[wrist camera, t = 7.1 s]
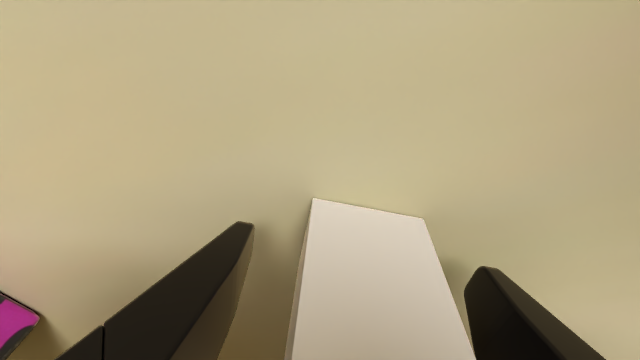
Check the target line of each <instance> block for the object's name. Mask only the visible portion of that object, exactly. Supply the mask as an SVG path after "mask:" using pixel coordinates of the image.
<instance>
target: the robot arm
mask: <svg viewBox="0 0 640 360" xmlns="http://www.w3.org/2000/svg"><path fill="white" fill-rule="evenodd" d="M254 229H255V228H254V225H253V224H252V223H246V222H241V221H238V222H236V223H234V224H233V225H232V226H230V227H229V228H228V229H226V230H225V231H224V232H223V233H221V234H220V235H219V236H217V237H216V238H215V239H213V240H212V241H211V242H209V243H208V244H207V245H205V246H204V247H203V248H201V249H200V250H199V251H198V252H196V253H195V254H194V255H192V256H191V257H190V258H188V259H187V260H186V261H184V262H183V263H182V264H180V265H179V266H178V267H176V268H175V269H174V270H172V271H171V272H170V273H169V274H167V275H166V276H165V277H163V278H162V279H161V280H159V281H158V282H157V283H155V284H154V285H153V286H151V287H150V288H149V289H147V290H146V291H145V292H144V293H142V294H141V295H140V296H138V297H137V298H136V299H134V300H133V301H132V302H130V303H129V304H128V305H126V306H125V307H124V308H122V309H121V310H120V311H118V312H117V313H116V314H115V315H113V316H112V317H111V318H109V319H108V320H107V321H105V323H104V326H102V325H100V326H98V327H97V328H96V329H95V330H93V331H92V332H91V333H89V334H88V335H87V336H85V337H84V338H83V339H81V340H80V341H79V342H77V343H76V344H75V345H73V346H72V347H70V348H69V349H68V350H66V351H65V352H64V353H62V354H61V355H59V356H58V357H57V358H55V359H54V360H217V358H218V355H219V353H220V351H221V348H222V346H223V343H224V341H225V338H226V336H227V333H228V331H229V328H230V326H231V323H232V321H233V318H234V315H235V312H236V309H237V305H238V302H239V298H240V294H241V291H242V287H243V284H244V280H245V276H246V273H247V269H248V266H249V262H250V258H251V254H252V248H253V239H254ZM464 298H465V304H466V309H467V315H468V321H469V326H470V332H471V337H472V343H473V348H474V353H475V357H476V360H606V359H605V358H603V357H602V356H601V355H600V354H599V353H597V352H596V351H595V350H594V349H593V348H592V347H590V346H589V345H588V344H587V343H586V342H584V341H583V340H582V339H581V338H580V337H578V336H577V335H576V334H575V333H574V332H573V331H571V330H570V329H569V328H568V327H567V326H565V325H564V324H563V323H562V322H561V321H559V320H558V319H557V318H556V317H555V316H554V315H552V314H551V313H550V312H549V311H548V310H546V309H545V308H544V307H543V306H542V305H540V304H539V303H538V302H537V301H536V300H535V299H533V298H532V297H531V296H530V295H529V294H527V293H526V292H525V291H524V290H523V289H521V288H520V287H519V286H518V285H517V284H516V283H514V282H513V281H512V280H511V279H510V278H508V277H507V276H506V275H505V274H504V273H502V272H501V271H500V270H498V269H496V268H492V267H486V266H481V267H479V268H478V269H477V270H476V271H475V273H474V274H473V276H472V277H471V279H470V280H469V282H468V284H467V285H466V287H465V290H464Z"/></svg>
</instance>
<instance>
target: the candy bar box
mask: <svg viewBox="0 0 640 360" xmlns="http://www.w3.org/2000/svg"><path fill="white" fill-rule="evenodd" d="M39 318H40V317H39V316H38V315H37V314H35V313H34V312H33V311H32V310H30V309H28V308H27V307H25V306H23V305H21V304H19V303H17V302H15V301H13V300H12V299H10V298H8V297H6V296H4V295H2V294H1V293H0V360H6V359H7V358H8V357H9V356H10V354H11V353H12V352H13V351H14V350H15V349H16V348H17V347H18V346H19V344H20V343H21V342H22V341H23V340H24V339H25V338H26V336H27V335H28V334H29V333H30V332H31V331H32V329H33V328H34V327H35V325H36V324H37V323H38V321H39Z"/></svg>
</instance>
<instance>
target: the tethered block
mask: <svg viewBox="0 0 640 360" xmlns="http://www.w3.org/2000/svg"><path fill="white" fill-rule="evenodd" d="M284 360H476V358H475V355H474V352H473V350H472V347H471V344H470V342H469V339H468V336H467V334H466V331H465V328H464V326H463V323H462V321H461V318H460V315H459V313H458V310H457V307H456V305H455V302H454V299H453V297H452V294H451V291H450V289H449V286H448V283H447V281H446V278H445V275H444V273H443V270H442V267H441V265H440V262H439V259H438V257H437V254H436V251H435V249H434V246H433V243H432V241H431V238H430V235H429V233H428V230H427V227H426V225H425V222H424V219H422V218H417V217H412V216H406V215H401V214H396V213H390V212H385V211H380V210H375V209H369V208H364V207H359V206H353V205H348V204H343V203H338V202H332V201H327V200H322V199H316V198H313V200H312V205H311V209H310V214H309V218H308V223H307V228H306V232H305V237H304V241H303V246H302V250H301V255H300V260H299V265H298V272H297V278H296V285H295V292H294V298H293V305H292V311H291V318H290V324H289V331H288V337H287V344H286V350H285V357H284Z"/></svg>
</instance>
